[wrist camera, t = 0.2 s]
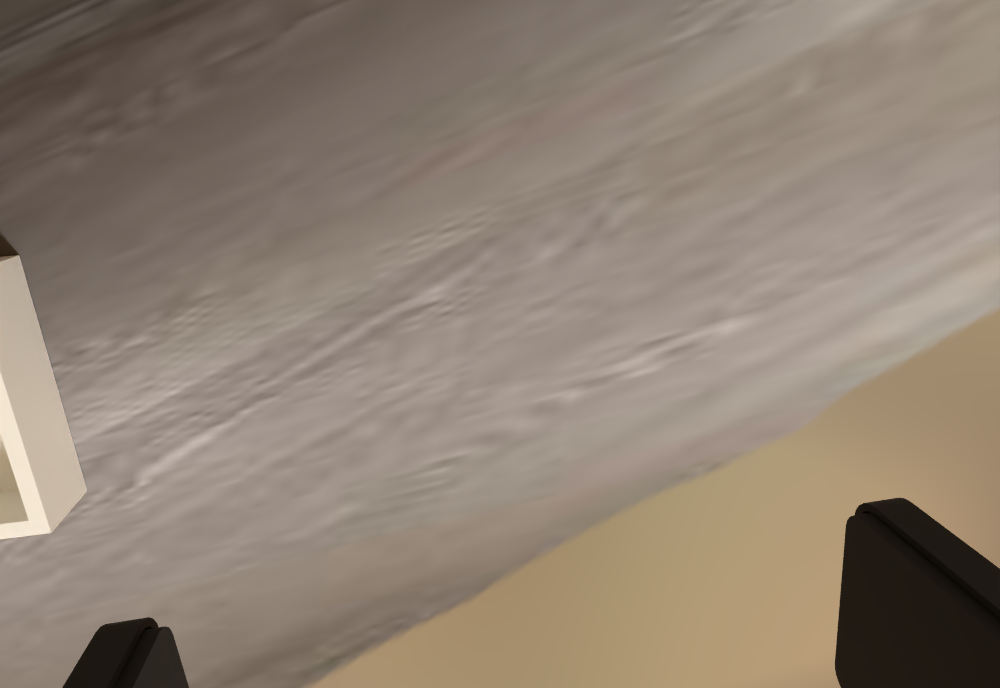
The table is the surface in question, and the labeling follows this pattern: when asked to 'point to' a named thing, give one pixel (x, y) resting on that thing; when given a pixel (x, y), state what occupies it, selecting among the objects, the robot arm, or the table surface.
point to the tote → (31, 420)
